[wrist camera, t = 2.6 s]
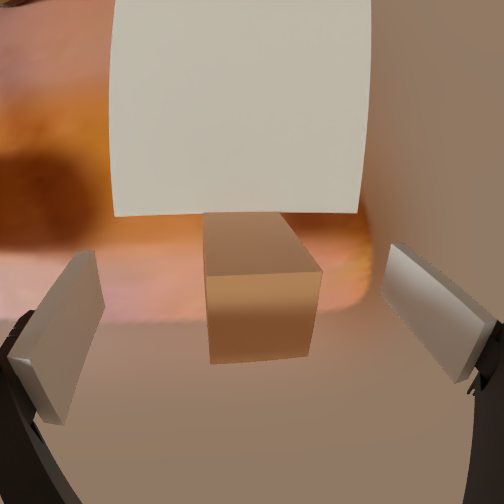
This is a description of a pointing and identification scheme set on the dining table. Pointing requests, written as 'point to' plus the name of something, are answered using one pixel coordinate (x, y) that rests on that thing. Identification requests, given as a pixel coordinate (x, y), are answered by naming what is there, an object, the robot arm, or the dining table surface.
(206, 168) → the lid
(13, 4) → the sauce bottle
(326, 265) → the dining table surface
